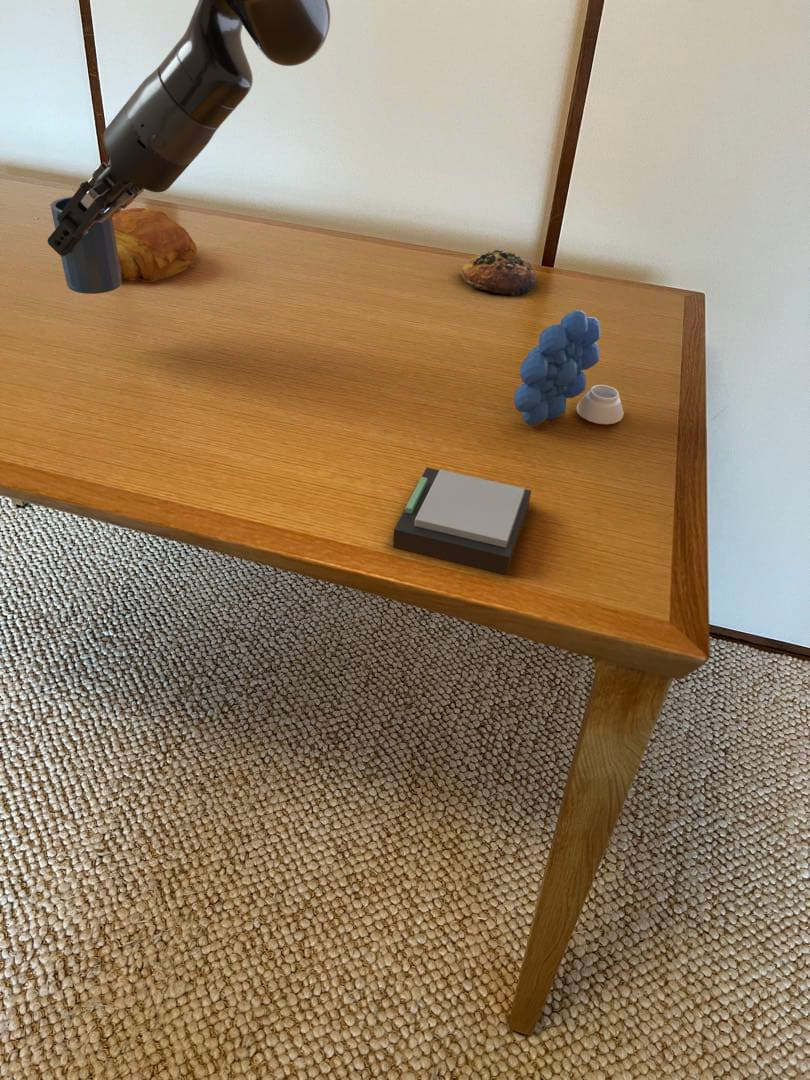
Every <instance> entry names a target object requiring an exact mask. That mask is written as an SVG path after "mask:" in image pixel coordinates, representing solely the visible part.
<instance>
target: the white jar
mask: <svg viewBox="0 0 810 1080" xmlns="http://www.w3.org/2000/svg"><path fill="white" fill-rule="evenodd" d="M576 412H577V414H578V415H579V416H580V417H581V418H582V419H584V420H587V421H588V422H591V423H594V424H597V425H598V424H599V425H612V424H616V423H618V422H621V421H622V419H623V418H624V415H625V412H624V408H623V405H622V401H621V398H620V393H619V390H618V389H616V388H615V387H613V386H609V385H606V384H596V385H594V386H591V388H590V389H589V390H588V391H587V392H586V393H585V395H584V396H582V398H581V399H580V400H579V402H578V403H577V404H576Z"/></svg>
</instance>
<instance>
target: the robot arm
mask: <svg viewBox="0 0 810 1080" xmlns="http://www.w3.org/2000/svg"><path fill="white" fill-rule="evenodd" d="M330 26H331V9H330V4H329V1H328V0H198V2H197V4H196V6H195V8H194V10H193V13H192V16H191V18H190V20H189V24H188V26H187V28H186V31H185V32H184V34H183V35H182V37H181V38H180V39H179V40H178V42H177V43H176V44H175V45H174V47H173V48H172V49H171V51H170V52H168V54H167V55H166V57H165V58H164V59H163V60H162V62H161V63H160V65H159V66H158V67H157V68H156V69H155V70H153V72H151V73H150V74H149V75H148V76H147V77H146V78H145V79H144V80H143V81H142V82H141V83H140V84H139V86H138V87H137V88H136V90H135V91H134V92H133V93H132V94H131V96H130V97H129V99H128V100H127V101H126V102H125V104H124V105H123V106H122V108H121V109H120V110H119V112H118V113H117V114H116V115H115V116H114V118H113V119H112V120H111V121H110V122H109V124H108V126H106V127H105V129H104V132H103V134H102V143H103V146H104V149H105V151H106V153H107V156H108V158H109V161H108V162H107V163H106V162H104V161H103V162H102V163H100V164H99V165H98V167H97V168H95V169H94V171H92V174H91V175H92V177H91V178H90V179H89V180H86V181H84V182H81V183H80V184H79V188H78V189H77V190H76V192H75V193H74V194H73V197H72V196H71V197H72V198H71V200H70V201H69V202H68V204H67V205H66V206H65V208H64V209H63V211H62V212H61V213H59V214H58V217H57V220H58V221H59V222H60V225H59V226H58V227H57V228H56V229H55V228H54V229H55V230H53V232H52V233H51V234H50V236H48V238H47V240H46V241H47V244H48V246H50V247H51V248H52V249H53V250H54V251H55V252H56V253H57V254H58V255H59V256H60V257H61V256H65V255H67V254H68V253H69V252H70V251H71V250H72V248H73V247H74V246H75V245H76V244H77V243H78V241H79V240H80V239H81V238H82V237H83V236H84V235H87V234H88V231H89V230H90V229H91V228H92V227H93V226H94V225H95V224H96V223H97V222H105V221H106V220H107V219H108V218H109V217H110V216H111V215H112V216H113V215H115V214H116V213H119V212H120V211H122V210H126V208H127V207H128V206H129V205H131V204H132V203H133V202H134V200H135V199H136V198H137V197H139V196H140V195H141V194H142V193H143V192H144V190H145V191H148V192H151V193H163V192H165V191H167V190H169V189H170V187H171V186H172V185H173V184H174V183H175V182H176V181H177V180H178V179H179V178H180V176H181V175H182V174H183V173H184V172H185V170H187V168H188V167H190V165H191V164H192V163H193V161H194V160H195V159H196V158H197V157H198V156H199V155H200V154H201V153H202V151H203V150H204V149H205V148H206V147H207V145H208V144H209V143H210V141H211V140H212V138H213V137H214V135H215V134H216V132H217V130H218V129H219V128H220V127H221V126H222V124H223V123H224V122H225V121H226V120H227V119H228V118H229V117H230V115H232V113H233V112H234V111H235V110H236V109H237V107H238V106H240V104H242V102H243V101H244V100H245V99H246V98H247V96H248V95H249V93H250V92H251V90H252V87H253V84H254V77H253V72H252V68H251V65H250V62H249V60H248V57H247V55H246V53H245V50H244V46H243V41H242V30H243V27H244V29H245V30H246V32H247V33H248V35H249V36H250V38H251V39H252V41H253V43H254V44H255V45H256V46H257V48H258V50H259V51H260V52H261V54H262V55H263V57H265V58H266V59H267V60H268V61H270V62H271V63H274V64H276V65H278V66H283V67H295V66H299V65H302V64H305V63H307V62H308V61H311V59H312V58H313V57H315V56H316V55H317V54H318V53H319V52H320V51H321V49H322V47H323V46H324V44H325V42H326V40H327V38H328V34H329V31H330ZM103 208H105V209H106V211H105V212H104V213H102V212H100V211H101V210H102V209H103ZM113 213H114V214H113Z"/></svg>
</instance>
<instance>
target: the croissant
mask: <svg viewBox="0 0 810 1080" xmlns="http://www.w3.org/2000/svg"><path fill="white" fill-rule="evenodd" d="M113 214H114V213H113ZM112 220H113V226H114V233H115V239H116V245H117V251H118V257H119V263H120V269H121V275H122V280H123V279H127V280H129V281H136V280H139V282H143V283H149V282H156V281H159V280H161V279H168V278H172V277H173V276H175V275H178V274H179V273H181V272H184V271H186V270H187V269H188V267H189V266H191V265H192V264H193V262H194V261H195V260H196V256H197V254H198V247H197V244H196V242H195V241H194V240H193V239H192V237H191V235H190V234H189V232H188V231H187V230H186V229H185V227H183V226H181V225H180V224H179V223H178V222H176V221H175V220H173V219H171V218H170V217H168V215H167V214H166V213H165V212H163V211H160V210H159V211H158V210H157V211H156V210H153V209H148V208H144V207H131V208H127V209H121V211H120V212H119V213H116V214H115V215H113V216H112Z"/></svg>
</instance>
